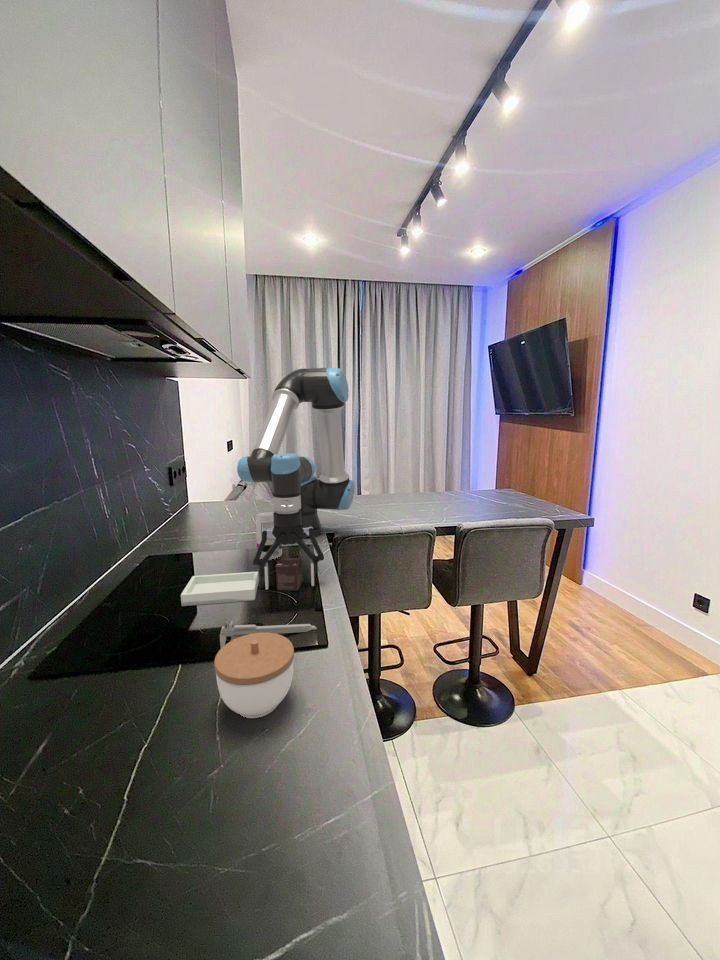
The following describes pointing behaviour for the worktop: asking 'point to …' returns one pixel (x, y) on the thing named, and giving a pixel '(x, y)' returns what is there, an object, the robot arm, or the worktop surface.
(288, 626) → the caliper
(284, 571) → the box
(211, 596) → the tray
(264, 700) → the lidded bowl
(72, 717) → the worktop surface
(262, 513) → the supplement can
